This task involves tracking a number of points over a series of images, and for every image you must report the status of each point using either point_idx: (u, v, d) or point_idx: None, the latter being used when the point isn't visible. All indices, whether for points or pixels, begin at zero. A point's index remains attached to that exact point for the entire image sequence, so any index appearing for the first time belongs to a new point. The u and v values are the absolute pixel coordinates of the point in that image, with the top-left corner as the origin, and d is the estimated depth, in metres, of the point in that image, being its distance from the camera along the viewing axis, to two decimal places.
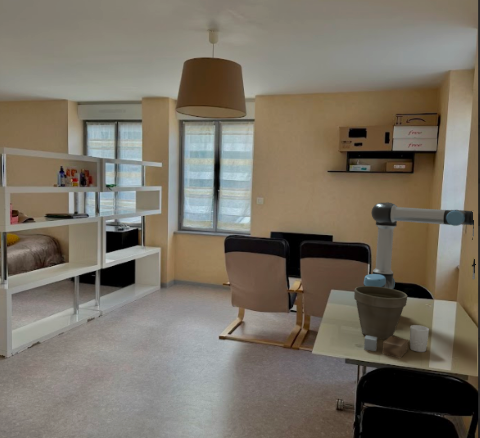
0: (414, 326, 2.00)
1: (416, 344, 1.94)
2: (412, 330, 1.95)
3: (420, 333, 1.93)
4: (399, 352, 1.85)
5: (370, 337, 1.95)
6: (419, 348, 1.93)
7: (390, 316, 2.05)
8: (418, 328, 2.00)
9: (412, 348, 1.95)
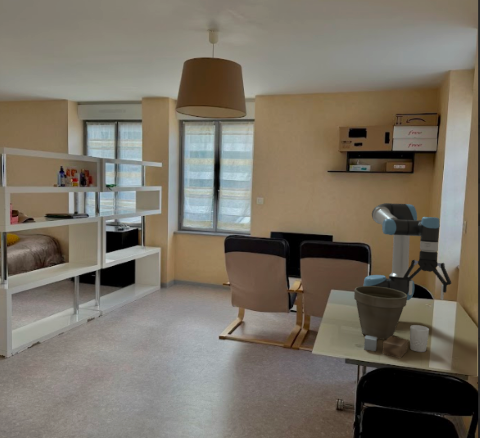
0: (414, 326, 2.00)
1: (416, 344, 1.94)
2: (412, 330, 1.95)
3: (420, 333, 1.93)
4: (399, 352, 1.85)
5: (370, 337, 1.96)
6: (419, 348, 1.93)
7: (390, 316, 2.05)
8: (418, 328, 2.00)
9: (412, 348, 1.95)
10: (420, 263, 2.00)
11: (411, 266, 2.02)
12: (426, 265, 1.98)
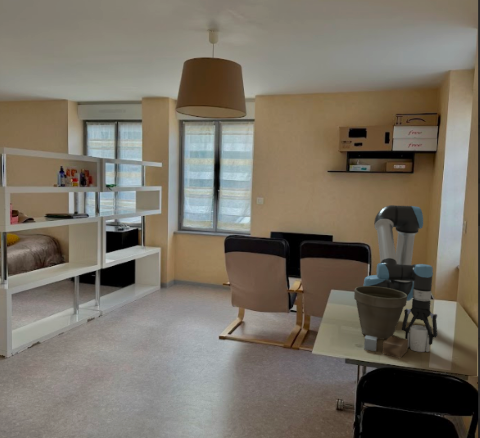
0: (414, 326, 2.00)
1: (416, 344, 1.94)
2: (412, 330, 1.95)
3: (420, 333, 1.93)
4: (399, 352, 1.85)
5: (370, 337, 1.96)
6: (419, 348, 1.93)
7: (390, 316, 2.05)
8: (418, 328, 2.00)
9: (412, 348, 1.95)
10: (413, 311, 1.97)
11: (405, 316, 1.98)
12: (419, 313, 1.95)
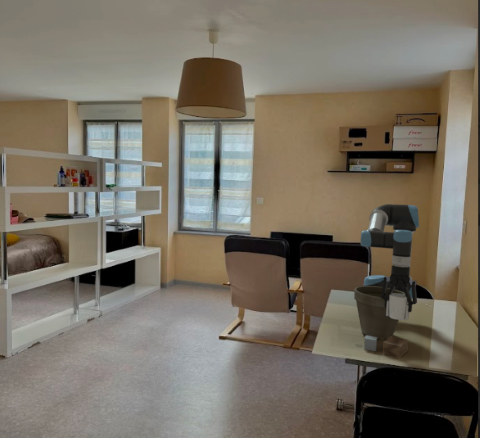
0: (394, 294, 1.94)
1: (395, 312, 1.88)
2: (391, 297, 1.89)
3: (399, 300, 1.87)
4: (399, 352, 1.85)
5: (370, 337, 1.95)
6: (398, 316, 1.88)
7: None
8: (398, 296, 1.94)
9: (391, 316, 1.90)
10: (392, 278, 1.91)
11: (384, 284, 1.93)
12: (398, 280, 1.89)
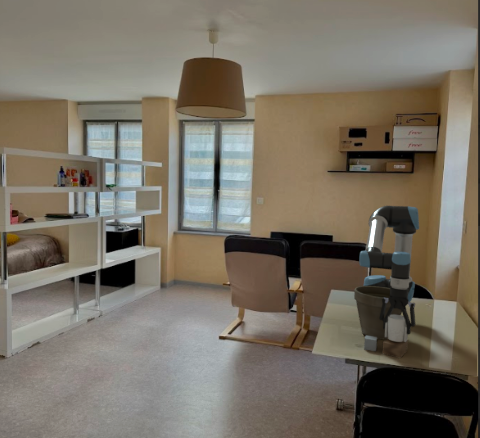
0: (392, 315, 1.95)
1: (393, 334, 1.89)
2: (390, 319, 1.90)
3: (397, 322, 1.87)
4: (399, 352, 1.85)
5: (370, 337, 1.96)
6: (397, 338, 1.88)
7: None
8: (396, 317, 1.95)
9: (390, 338, 1.90)
10: (391, 300, 1.91)
11: (383, 305, 1.93)
12: (396, 302, 1.90)
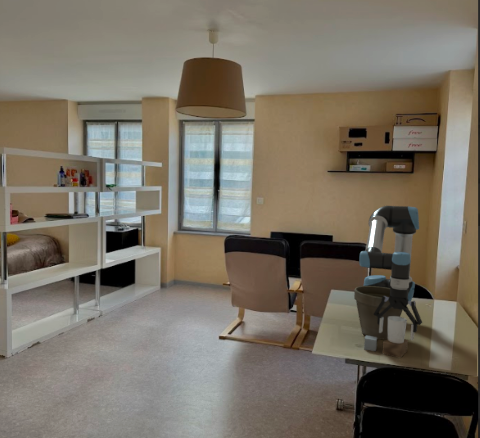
0: (392, 317, 1.95)
1: (393, 335, 1.89)
2: (389, 321, 1.90)
3: (397, 324, 1.87)
4: (399, 352, 1.85)
5: (370, 337, 1.96)
6: (397, 340, 1.88)
7: None
8: (396, 319, 1.95)
9: (389, 339, 1.90)
10: (390, 300, 1.91)
11: (381, 303, 1.94)
12: (396, 303, 1.90)
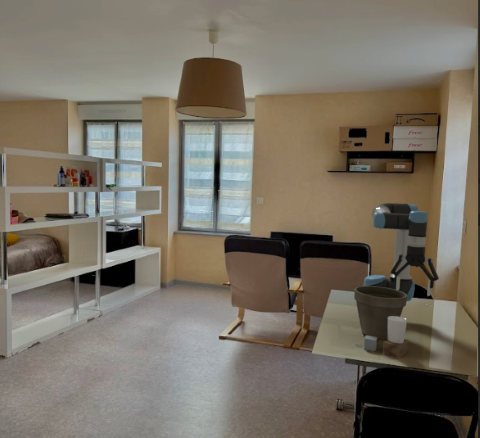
0: (392, 317, 1.95)
1: (393, 335, 1.89)
2: (389, 321, 1.90)
3: (397, 324, 1.87)
4: (399, 352, 1.85)
5: (370, 337, 1.96)
6: (397, 340, 1.88)
7: None
8: (396, 319, 1.95)
9: (389, 339, 1.90)
10: (407, 258, 1.96)
11: (398, 261, 1.98)
12: (413, 260, 1.94)
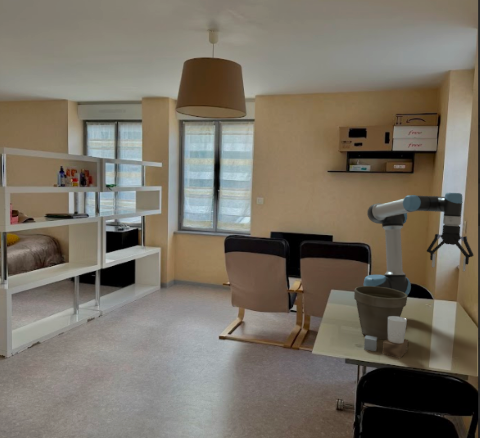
0: (392, 317, 1.95)
1: (393, 335, 1.89)
2: (389, 321, 1.90)
3: (397, 324, 1.87)
4: (399, 352, 1.85)
5: (370, 337, 1.96)
6: (397, 340, 1.88)
7: None
8: (396, 319, 1.95)
9: (389, 339, 1.90)
10: (443, 237, 2.10)
11: (434, 240, 2.12)
12: (449, 238, 2.08)
